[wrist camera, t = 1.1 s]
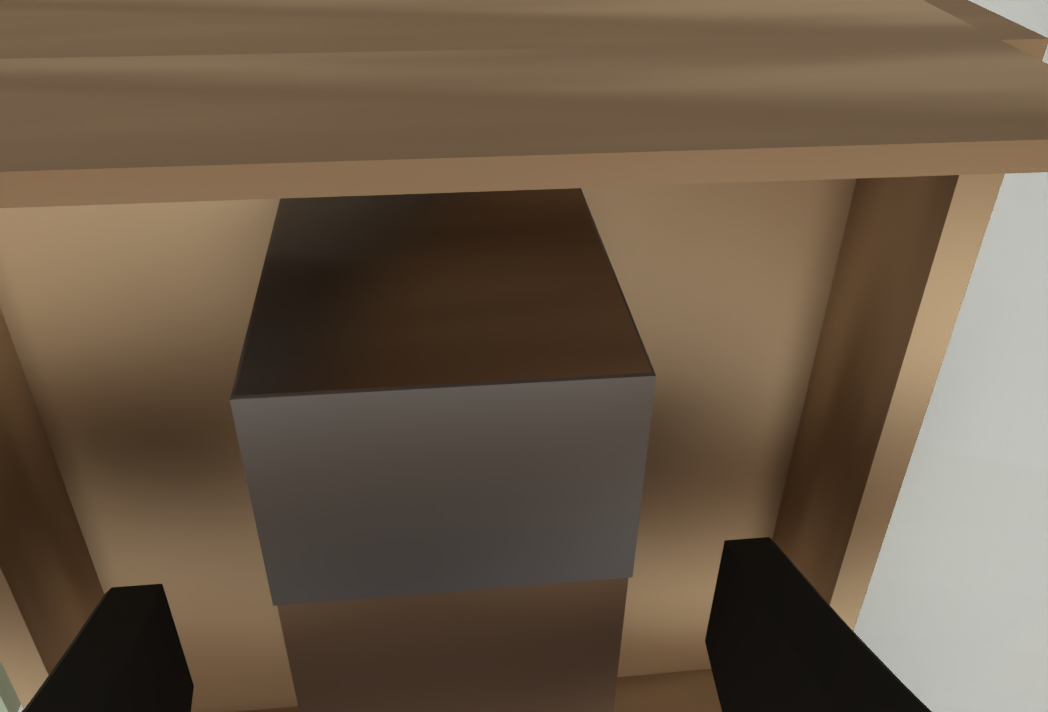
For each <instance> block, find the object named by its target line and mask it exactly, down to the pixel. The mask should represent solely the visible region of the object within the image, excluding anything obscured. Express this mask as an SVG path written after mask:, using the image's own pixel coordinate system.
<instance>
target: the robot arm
mask: <svg viewBox="0 0 1048 712" xmlns="http://www.w3.org/2000/svg"><path fill="white" fill-rule="evenodd" d="M705 643H706V648H707V652H708V656H709V661H710V665H711V669H712V673H713V678H714V682H715V686H716V690H717V694H718V698H719V702H720V705H721V709H722V712H931V711H930V710H929V709H928V708H927V707H926V706H925V705H924V704H923V703H922V702H921V701H920V700H919V699H918V698H917V697H916V696H915V695H914V694H913V693H912V692H911V691H910V690H909V689H908V688H907V687H906V686H905V685H904V684H903V683H902V682H901V681H900V680H899V679H898V678H897V677H896V676H895V675H894V674H893V673H892V672H891V671H890V670H889V669H888V668H887V666H886V665H885V664H884V663H883V662H882V661H881V660H880V659H879V658H878V657H877V656H876V655H875V654H874V653H873V652H872V651H871V650H870V649H869V648H868V647H867V645H866V644H865V643H864V642H863V641H862V640H861V639H860V638H859V637H858V636H857V635H856V634H855V633H854V632H853V630H852V629H851V628H850V627H849V626H848V625H847V624H846V623H845V622H844V621H843V620H842V618H841V617H840V616H839V615H838V614H837V613H836V612H835V611H834V609H833V608H832V607H831V606H830V605H829V604H828V603H827V602H826V601H825V599H824V598H823V597H822V596H821V595H820V594H819V593H818V591H817V590H816V589H815V588H814V587H813V586H812V585H811V583H810V582H809V581H808V580H807V579H806V578H805V577H804V575H803V574H802V573H801V572H800V571H799V570H798V568H797V567H796V566H795V565H794V564H793V563H792V561H791V560H790V559H789V558H788V557H787V556H786V554H785V553H784V552H783V551H782V550H781V549H780V548H779V546H778V545H777V544H776V543H775V542H774V541H773V540H772V539H771V538H770V537H762V538H749V539H736V540H725V541H724V546H723V551H722V556H721V561H720V566H719V571H718V576H717V581H716V586H715V592H714V597H713V602H712V607H711V612H710V617H709V622H708V627H707V632H706V637H705ZM193 689H194V684H193V681H192V678H191V675H190V672H189V668H188V665H187V662H186V659H185V655H184V652H183V649H182V646H181V643H180V639H179V636H178V633H177V630H176V626H175V623H174V620H173V617H172V614H171V610H170V607H169V604H168V601H167V597H166V594H165V591H164V588H163V584H150V585H137V586H124V587H112V588H111V589H109V590H108V591H107V592H106V593H105V594H104V596H103V597H102V599H101V600H100V602H99V603H98V605H97V606H96V607H95V609H94V610H93V612H92V613H91V615H90V616H89V618H88V619H87V621H86V622H85V624H84V625H83V627H82V628H81V630H80V631H79V633H78V634H77V636H76V637H75V638H74V640H73V641H72V643H71V644H70V646H69V647H68V649H67V650H66V651H65V653H64V654H63V656H62V657H61V659H60V660H59V661H58V663H57V664H56V666H55V667H54V669H53V670H52V671H51V673H50V674H49V676H48V677H47V678H46V680H45V681H44V683H43V684H42V685H41V687H40V688H39V690H38V691H37V692H36V694H35V695H34V697H33V698H32V699H31V701H30V702H29V703H28V705H27V706H26V707H25V709H24V710H23V711H22V712H191V706H192V698H193Z"/></svg>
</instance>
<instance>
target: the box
mask: <svg viewBox="0 0 1048 712" xmlns="http://www.w3.org/2000/svg"><path fill="white" fill-rule="evenodd" d="M655 381H656V374H655V372H654V369H653V367H652V364H651V362H650V359H649V357H648V354H647V352H646V349H645V347H644V344H643V342H642V339H641V337H640V334H639V332H638V329H637V327H636V324H635V322H634V319H633V317H632V314H631V312H630V309H629V307H628V304H627V302H626V299H625V297H624V294H623V292H622V289H621V287H620V284H619V282H618V279H617V277H616V274H615V272H614V269H613V267H612V264H611V262H610V259H609V257H608V254H607V252H606V249H605V247H604V244H603V242H602V239H601V237H600V234H599V232H598V229H597V227H596V224H595V222H594V219H593V217H592V215H591V212H590V210H589V207H588V205H587V202H586V200H585V197H584V195H583V192H582V190H581V188H569V189H541V190H512V191H483V192H454V193H425V194H397V195H368V196H339V197H310V198H282V199H280V201H279V205H278V209H277V213H276V217H275V221H274V225H273V229H272V233H271V237H270V241H269V245H268V249H267V253H266V257H265V261H264V265H263V269H262V273H261V277H260V281H259V285H258V289H257V293H256V297H255V301H254V305H253V309H252V313H251V317H250V321H249V324H248V328H247V332H246V336H245V340H244V344H243V348H242V352H241V356H240V360H239V364H238V368H237V372H236V376H235V380H234V384H233V388H232V392H231V396H230V404H231V409H232V414H233V418H234V423H235V428H236V433H237V437H238V442H239V447H240V452H241V456H242V461H243V466H244V471H245V475H246V480H247V485H248V489H249V494H250V499H251V504H252V508H253V513H254V518H255V523H256V527H257V532H258V537H259V542H260V546H261V551H262V556H263V561H264V565H265V570H266V575H267V580H268V584H269V589H270V594H271V599H272V603H273V606H277V608H278V612H279V617H280V622H281V627H282V632H283V637H284V641H285V646H286V651H287V656H288V661H289V666H290V670H291V675H292V680H293V685H294V690H295V695H296V699H297V704H298V709H299V712H613V711H614V702H615V693H616V684H617V676H618V667H619V658H620V649H621V640H622V631H623V623H624V614H625V605H626V596H627V587H628V579H629V578H631V577H633V569H634V560H635V552H636V543H637V535H638V526H639V518H640V509H641V500H642V492H643V483H644V475H645V466H646V458H647V449H648V441H649V432H650V424H651V415H652V406H653V398H654V389H655Z"/></svg>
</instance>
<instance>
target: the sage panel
mask: <svg viewBox="0 0 1048 712" xmlns="http://www.w3.org/2000/svg"><path fill="white" fill-rule="evenodd" d="M20 705H21V702H20V700H19V698H18V696H17V694H16V692H15V690H14V688H13V686H12V684H11V681H10V679H9V677H8V675H7V673H6V671H5V669H4V667H3V665H2V663H1V661H0V712H18V710H19V707H20Z"/></svg>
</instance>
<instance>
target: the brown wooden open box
mask: <svg viewBox="0 0 1048 712" xmlns="http://www.w3.org/2000/svg"><path fill="white" fill-rule="evenodd" d="M1047 44H1048V38H1046V37H1044V36H1042V35H1040V34H1038V33H1036V32H1034V31H1032V30H1029V29H1027V28H1025V27H1023V26H1021V25H1019V24H1017V23H1015V22H1013V21H1010V20H1008V19H1006V18H1004V17H1002V16H1000V15H998V14H996V13H994V12H991V11H989V10H987V9H985V8H983V7H981V6H979V5H977V4H975V3H972V2H970V1H968V0H0V661H1V663H2V665H3V667H4V669H5V671H6V673H7V675H8V677H9V679H10V681H11V684H12V686H13V688H14V690H15V692H16V694H17V696H18V698H19V700H20V702H21V704H22V706H23V708H24V709H25V707H26V706H27V705H28V703H29V702H30V701H31V699H32V698H33V697H34V695H35V694H36V692H37V691H38V690H39V688H40V687H41V685H42V684H43V683H44V681H45V680H46V678H47V677H48V676H49V674H50V673H51V671H52V670H53V669H54V667H55V666H56V664H57V663H58V661H59V660H60V659H61V657H62V656H63V654H64V653H65V651H66V650H67V649H68V647H69V646H70V644H71V643H72V641H73V640H74V638H75V637H76V636H77V634H78V633H79V631H80V630H81V628H82V627H83V625H84V624H85V622H86V621H87V619H88V618H89V616H90V615H91V613H92V612H93V610H94V609H95V607H96V606H97V605H98V603H99V602H100V600H101V599H102V597H103V596H104V594H105V593H106V592H107V591H108V590H109V589H111V588H112V587H124V586H137V585H150V584H163V588H164V591H165V594H166V597H167V601H168V604H169V607H170V610H171V614H172V617H173V620H174V623H175V626H176V630H177V633H178V636H179V639H180V643H181V646H182V649H183V652H184V655H185V659H186V662H187V665H188V668H189V672H190V675H191V678H192V681H193V684H194V689H193V698H192V706H191V712H299V709H298V704H297V699H296V695H295V690H294V685H293V680H292V675H291V670H290V666H289V661H288V656H287V651H286V646H285V641H284V637H283V632H282V627H281V622H280V617H279V612H278V608H277V606H273V603H272V599H271V594H270V589H269V584H268V580H267V575H266V570H265V565H264V561H263V556H262V551H261V546H260V542H259V537H258V532H257V527H256V523H255V518H254V513H253V508H252V504H251V499H250V494H249V489H248V485H247V480H246V475H245V471H244V466H243V461H242V456H241V452H240V447H239V442H238V437H237V433H236V428H235V423H234V418H233V414H232V409H231V404H230V396H231V392H232V388H233V384H234V380H235V376H236V372H237V368H238V364H239V360H240V356H241V352H242V348H243V344H244V340H245V336H246V332H247V328H248V324H249V321H250V317H251V313H252V309H253V305H254V301H255V297H256V293H257V289H258V285H259V281H260V277H261V273H262V269H263V265H264V261H265V257H266V253H267V249H268V245H269V241H270V237H271V233H272V229H273V225H274V221H275V217H276V213H277V209H278V205H279V201H280V199H282V198H310V197H339V196H368V195H397V194H425V193H454V192H483V191H512V190H541V189H569V188H581V190H582V192H583V195H584V197H585V200H586V202H587V205H588V207H589V210H590V212H591V215H592V217H593V219H594V222H595V224H596V227H597V229H598V232H599V234H600V237H601V239H602V242H603V244H604V247H605V249H606V252H607V254H608V257H609V259H610V262H611V264H612V267H613V269H614V272H615V274H616V277H617V279H618V282H619V284H620V287H621V289H622V292H623V294H624V297H625V299H626V302H627V304H628V307H629V309H630V312H631V314H632V317H633V319H634V322H635V324H636V327H637V329H638V332H639V334H640V337H641V339H642V342H643V344H644V347H645V349H646V352H647V354H648V357H649V359H650V362H651V364H652V367H653V369H654V372H655V374H656V381H655V389H654V398H653V406H652V415H651V424H650V432H649V441H648V449H647V458H646V466H645V475H644V483H643V492H642V500H641V509H640V518H639V526H638V535H637V543H636V552H635V560H634V569H633V577H631V578H629V579H628V587H627V596H626V605H625V614H624V623H623V631H622V640H621V649H620V658H619V667H618V676H617V684H616V693H615V702H614V711H613V712H722V709H721V705H720V702H719V698H718V694H717V690H716V686H715V682H714V678H713V673H712V669H711V665H710V661H709V656H708V652H707V648H706V643H705V637H706V632H707V627H708V622H709V617H710V612H711V607H712V602H713V597H714V592H715V586H716V581H717V576H718V571H719V566H720V561H721V556H722V551H723V546H724V541H725V540H736V539H749V538H762V537H770V538H771V539H772V540H773V541H774V542H775V543H776V544H777V545H778V546H779V548H780V549H781V550H782V551H783V552H784V553H785V554H786V556H787V557H788V558H789V559H790V560H791V561H792V563H793V564H794V565H795V566H796V567H797V568H798V570H799V571H800V572H801V573H802V574H803V575H804V577H805V578H806V579H807V580H808V581H809V582H810V583H811V585H812V586H813V587H814V588H815V589H816V590H817V591H818V593H819V594H820V595H821V596H822V597H823V598H824V599H825V601H826V602H827V603H828V604H829V605H830V606H831V607H832V608H833V609H834V611H835V612H836V613H837V614H838V615H839V616H840V617H841V618H842V620H843V621H844V622H845V623H846V624H847V625H848V626H849V627H850V628H851V629H852V630H854V627H855V624H856V621H857V618H858V615H859V612H860V609H861V606H862V603H863V600H864V597H865V594H866V591H867V588H868V585H869V582H870V579H871V576H872V573H873V570H874V567H875V564H876V561H877V558H878V555H879V552H880V549H881V546H882V543H883V540H884V537H885V534H886V531H887V528H888V525H889V521H890V518H891V515H892V512H893V509H894V506H895V503H896V500H897V497H898V494H899V491H900V488H901V485H902V482H903V479H904V476H905V473H906V470H907V467H908V464H909V461H910V458H911V455H912V452H913V449H914V446H915V443H916V440H917V437H918V434H919V431H920V428H921V425H922V422H923V419H924V416H925V413H926V410H927V407H928V404H929V401H930V398H931V395H932V392H933V389H934V386H935V382H936V379H937V376H938V373H939V370H940V367H941V364H942V361H943V358H944V355H945V352H946V349H947V346H948V343H949V340H950V337H951V334H952V331H953V328H954V325H955V322H956V319H957V316H958V313H959V310H960V307H961V304H962V301H963V298H964V295H965V292H966V289H967V286H968V283H969V280H970V277H971V274H972V271H973V268H974V265H975V262H976V259H977V256H978V253H979V250H980V247H981V244H982V240H983V237H984V234H985V231H986V228H987V225H988V222H989V219H990V216H991V213H992V210H993V207H994V204H995V201H996V198H997V195H998V192H999V189H1000V186H1001V183H1002V180H1003V177H1004V174H1005V173H1030V172H1048V64H1046V63H1044V62H1042V59H1043V56H1044V53H1045V50H1046V47H1047Z"/></svg>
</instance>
